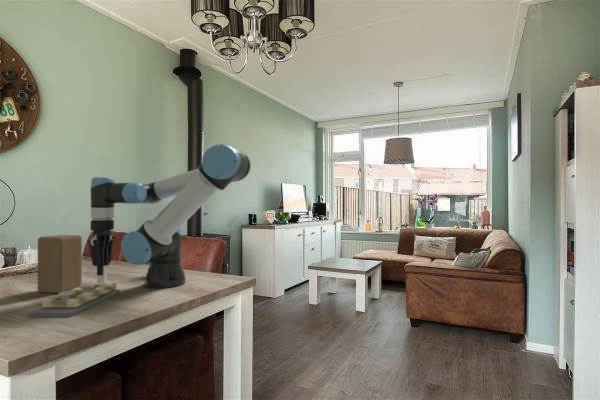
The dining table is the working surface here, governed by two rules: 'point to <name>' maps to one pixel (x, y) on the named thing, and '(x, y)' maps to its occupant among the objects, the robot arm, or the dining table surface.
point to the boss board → (70, 310)
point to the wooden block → (59, 263)
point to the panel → (80, 296)
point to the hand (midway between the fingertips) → (101, 283)
